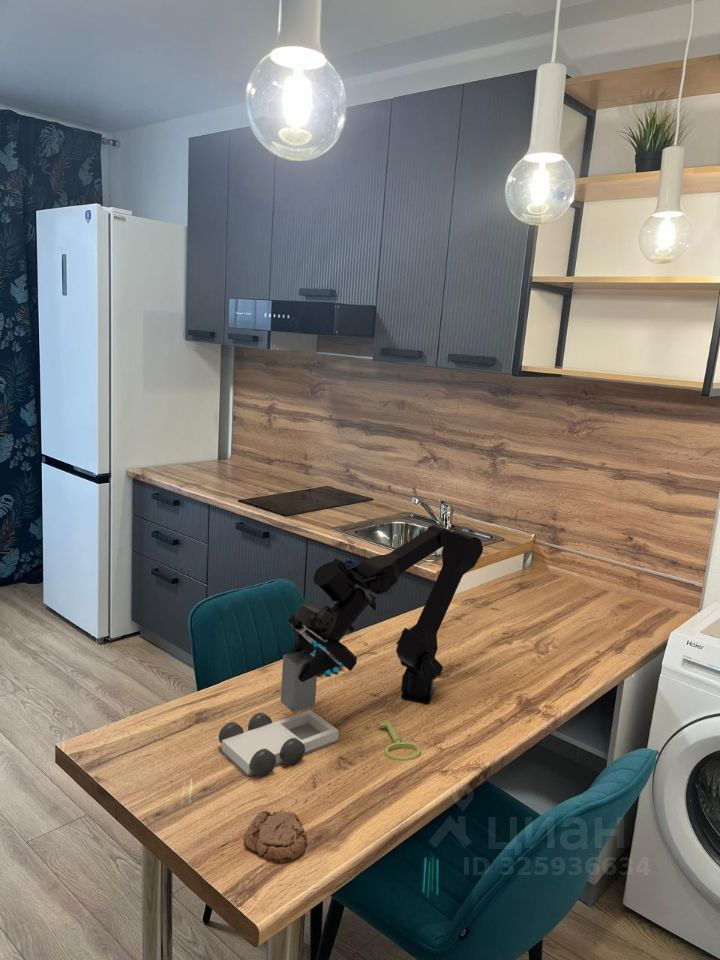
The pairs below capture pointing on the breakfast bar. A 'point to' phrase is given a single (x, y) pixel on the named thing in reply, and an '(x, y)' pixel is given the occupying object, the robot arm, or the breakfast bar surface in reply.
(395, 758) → the key
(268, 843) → the cookie
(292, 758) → the chassis
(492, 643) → the breakfast bar surface
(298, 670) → the block
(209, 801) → the breakfast bar surface
